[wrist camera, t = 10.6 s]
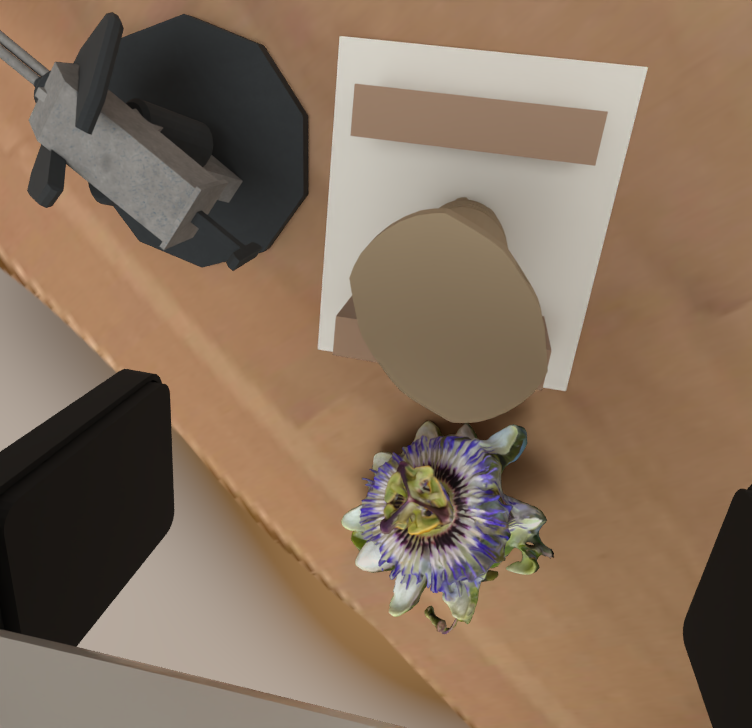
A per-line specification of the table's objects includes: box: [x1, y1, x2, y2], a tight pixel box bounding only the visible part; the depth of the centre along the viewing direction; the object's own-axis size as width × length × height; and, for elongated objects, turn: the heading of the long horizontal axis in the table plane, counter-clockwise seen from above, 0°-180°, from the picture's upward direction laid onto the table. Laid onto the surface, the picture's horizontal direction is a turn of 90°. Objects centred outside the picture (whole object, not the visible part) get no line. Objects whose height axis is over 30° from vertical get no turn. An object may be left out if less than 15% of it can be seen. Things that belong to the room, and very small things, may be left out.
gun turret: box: [0, 12, 308, 271], centre depth 27 cm, size 13×20×13 cm, turn 52°
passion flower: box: [341, 421, 554, 634], centre depth 35 cm, size 11×11×12 cm
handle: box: [349, 197, 548, 423], centre depth 24 cm, size 5×6×15 cm
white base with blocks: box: [318, 36, 648, 391], centre depth 30 cm, size 16×14×6 cm
